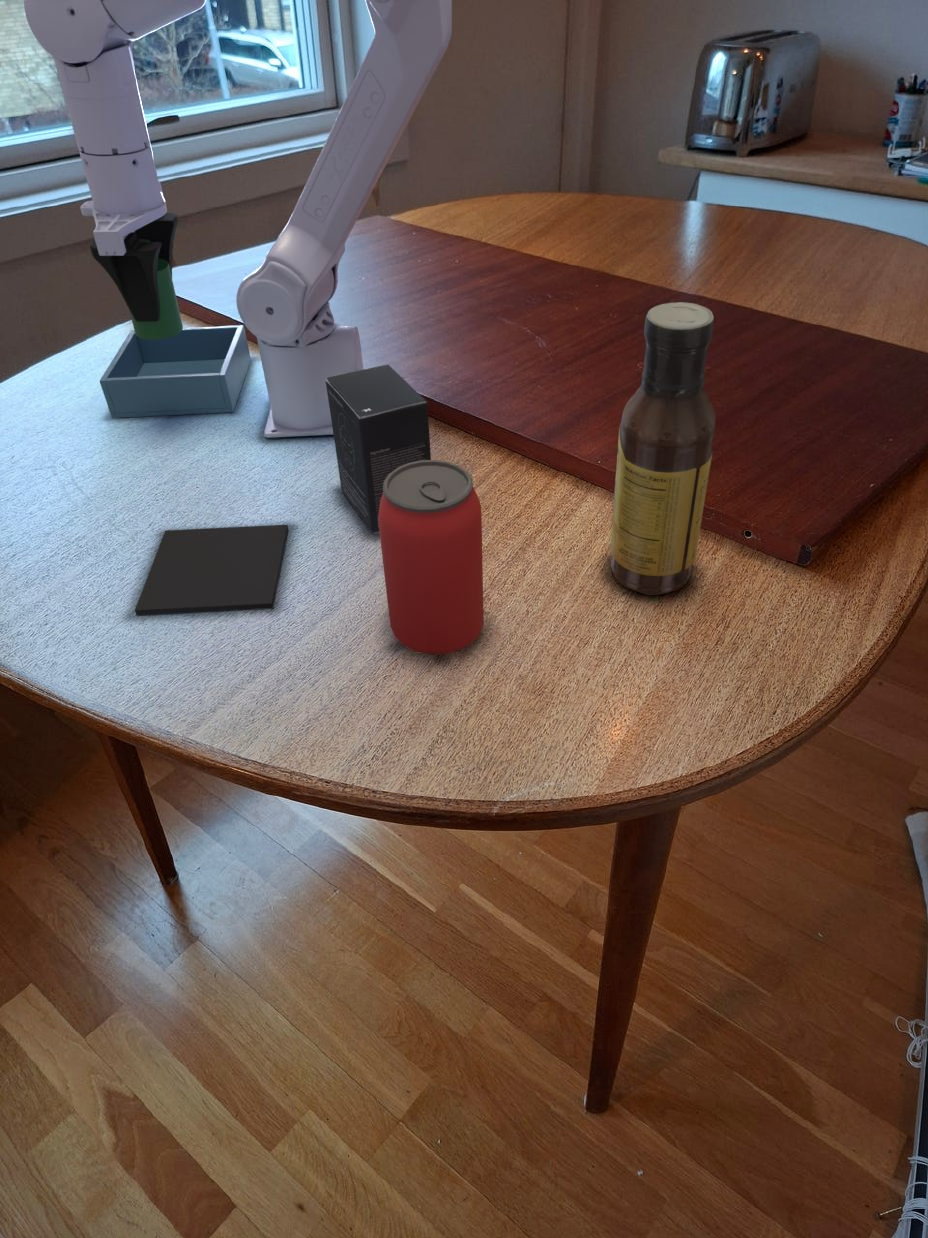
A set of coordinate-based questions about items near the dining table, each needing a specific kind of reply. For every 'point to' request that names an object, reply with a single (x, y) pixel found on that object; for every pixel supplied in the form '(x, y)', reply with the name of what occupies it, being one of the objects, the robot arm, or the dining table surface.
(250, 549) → the mat
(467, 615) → the beer can
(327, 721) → the dining table surface
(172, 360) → the case
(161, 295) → the bottle
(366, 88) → the robot arm
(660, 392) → the sauce bottle
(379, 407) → the box
